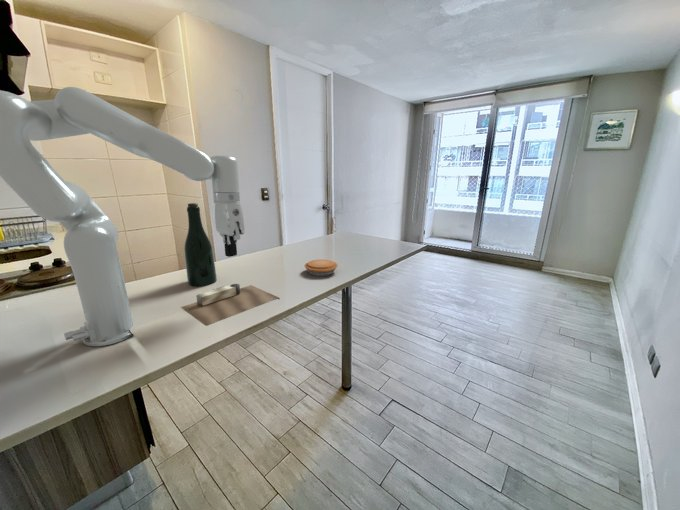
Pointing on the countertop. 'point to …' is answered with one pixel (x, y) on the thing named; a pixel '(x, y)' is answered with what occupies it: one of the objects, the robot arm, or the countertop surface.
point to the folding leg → (218, 294)
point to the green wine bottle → (198, 251)
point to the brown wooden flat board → (229, 305)
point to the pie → (321, 267)
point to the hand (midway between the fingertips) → (231, 255)
